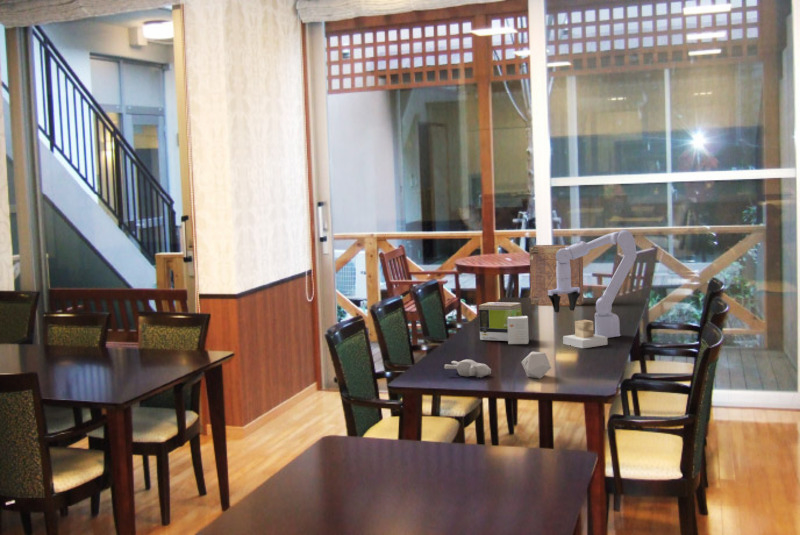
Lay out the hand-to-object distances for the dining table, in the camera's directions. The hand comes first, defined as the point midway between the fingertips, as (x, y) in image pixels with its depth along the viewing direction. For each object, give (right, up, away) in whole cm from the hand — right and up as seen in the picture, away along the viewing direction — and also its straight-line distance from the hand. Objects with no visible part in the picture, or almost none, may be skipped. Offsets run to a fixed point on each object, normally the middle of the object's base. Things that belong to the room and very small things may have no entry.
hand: (564, 311), depth 361 cm
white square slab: (+5, -12, -17) cm, 21 cm away
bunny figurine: (-44, -19, -61) cm, 78 cm away
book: (+13, -1, +90) cm, 91 cm away
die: (-22, -19, -68) cm, 74 cm away
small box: (-20, -12, -9) cm, 25 cm away
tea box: (-26, -12, +1) cm, 28 cm away
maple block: (+5, -9, -17) cm, 20 cm away
